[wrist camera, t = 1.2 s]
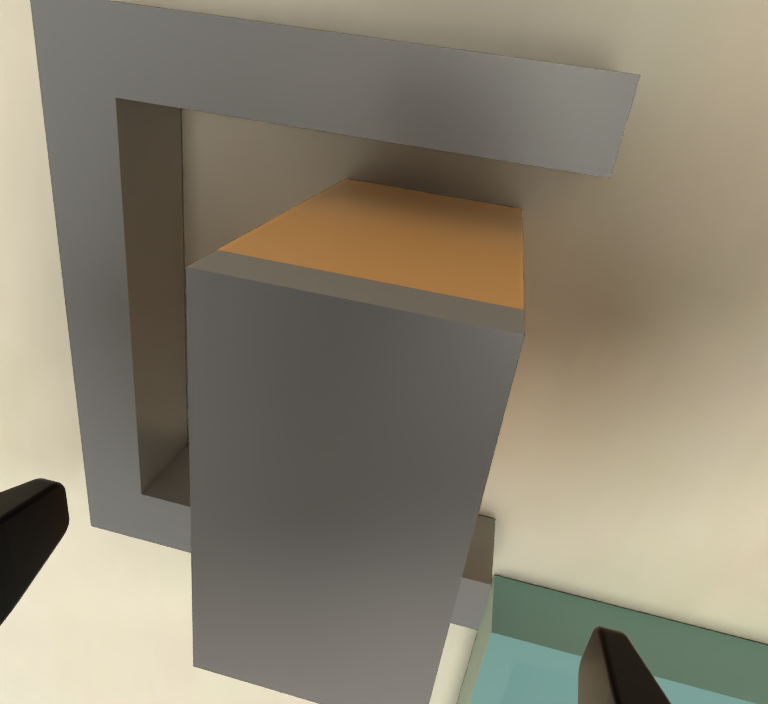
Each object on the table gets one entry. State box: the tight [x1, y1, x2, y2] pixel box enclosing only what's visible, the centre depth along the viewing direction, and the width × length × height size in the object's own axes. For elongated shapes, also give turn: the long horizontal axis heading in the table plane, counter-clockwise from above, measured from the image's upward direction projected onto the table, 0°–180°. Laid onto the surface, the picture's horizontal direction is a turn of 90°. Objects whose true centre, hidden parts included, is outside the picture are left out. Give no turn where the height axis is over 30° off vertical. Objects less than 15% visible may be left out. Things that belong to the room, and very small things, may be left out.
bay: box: [30, 0, 640, 630], centre depth 17 cm, size 14×16×3 cm
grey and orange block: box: [186, 179, 525, 704], centre depth 14 cm, size 5×9×9 cm, turn 172°
